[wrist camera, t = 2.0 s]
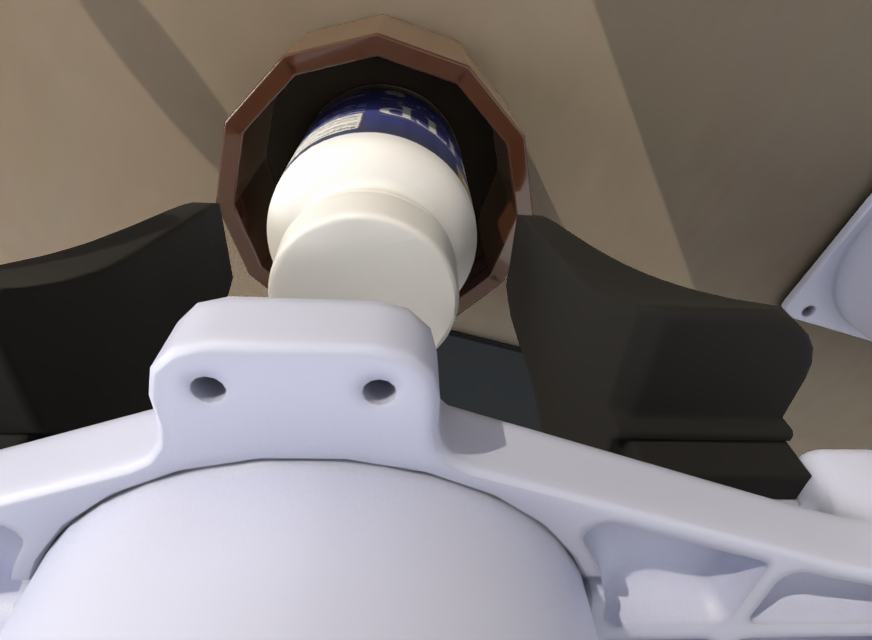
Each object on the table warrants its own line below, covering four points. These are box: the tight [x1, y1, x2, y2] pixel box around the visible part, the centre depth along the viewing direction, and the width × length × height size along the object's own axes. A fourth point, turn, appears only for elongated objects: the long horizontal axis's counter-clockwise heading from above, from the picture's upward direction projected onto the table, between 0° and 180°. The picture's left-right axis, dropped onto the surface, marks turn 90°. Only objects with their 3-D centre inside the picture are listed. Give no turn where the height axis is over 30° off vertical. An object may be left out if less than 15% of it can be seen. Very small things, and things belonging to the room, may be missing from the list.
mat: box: [436, 331, 541, 432], centre depth 26 cm, size 16×10×1 cm, turn 72°
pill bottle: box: [267, 84, 477, 349], centre depth 15 cm, size 5×5×9 cm
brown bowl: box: [216, 14, 534, 316], centre depth 17 cm, size 9×9×4 cm
